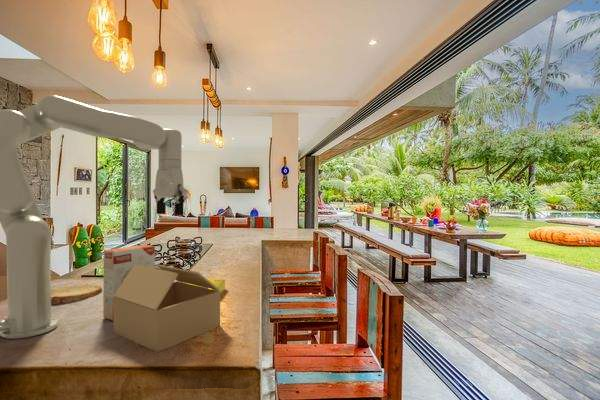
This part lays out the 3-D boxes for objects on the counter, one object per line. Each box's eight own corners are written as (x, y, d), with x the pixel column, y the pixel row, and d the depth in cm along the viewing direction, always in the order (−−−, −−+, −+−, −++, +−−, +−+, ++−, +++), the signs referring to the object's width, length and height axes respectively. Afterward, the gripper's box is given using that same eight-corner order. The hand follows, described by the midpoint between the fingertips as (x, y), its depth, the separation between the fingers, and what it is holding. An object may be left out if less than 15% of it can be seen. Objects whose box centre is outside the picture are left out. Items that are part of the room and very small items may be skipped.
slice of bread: (105, 289, 137) (105, 280, 137) (89, 304, 120) (88, 293, 120) (54, 292, 133) (53, 282, 133) (29, 307, 116) (28, 296, 116)
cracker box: (113, 322, 102) (113, 251, 102) (102, 318, 106) (102, 249, 105) (155, 308, 114) (155, 245, 114) (144, 305, 117) (144, 243, 117)
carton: (157, 352, 83) (157, 311, 83) (113, 332, 95) (113, 296, 94) (220, 325, 100) (220, 291, 100) (176, 311, 111) (176, 280, 111)
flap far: (177, 280, 111) (178, 279, 111) (218, 290, 100) (219, 289, 100) (155, 265, 104) (156, 263, 104) (197, 274, 94) (198, 272, 94)
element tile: (175, 301, 124) (175, 287, 123) (188, 289, 139) (188, 277, 138) (217, 301, 124) (217, 287, 124) (226, 289, 139) (226, 277, 139)
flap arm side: (156, 310, 83) (154, 309, 83) (114, 296, 94) (113, 295, 94) (178, 274, 88) (177, 273, 88) (136, 264, 99) (135, 264, 99)
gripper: (145, 165, 123) (144, 213, 123) (177, 163, 113) (177, 216, 114) (163, 166, 129) (163, 212, 129) (195, 165, 120) (195, 214, 120)
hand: (169, 214), depth 122 cm, fingers open, 9 cm apart
